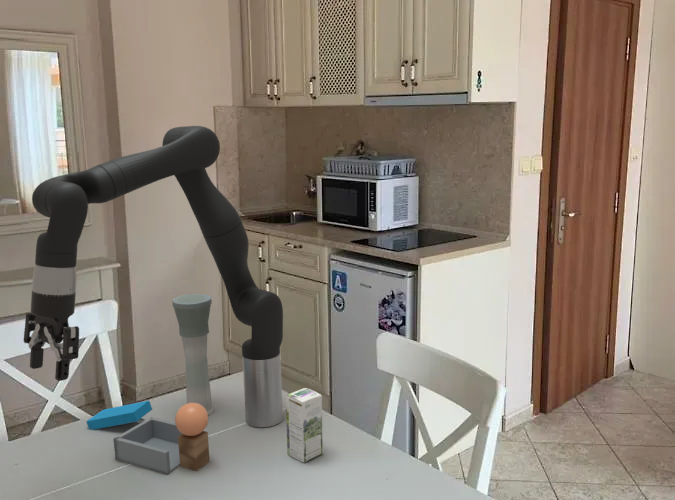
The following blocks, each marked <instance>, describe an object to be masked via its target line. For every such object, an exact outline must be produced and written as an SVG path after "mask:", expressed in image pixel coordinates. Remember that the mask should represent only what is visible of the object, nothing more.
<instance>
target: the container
mask: <svg viewBox="0 0 675 500" xmlns="http://www.w3.org/2000/svg"><path fill="white" fill-rule="evenodd" d="M212 300H213V299H212V296H211V295H208V294H202V293H194V294H193V293H190V294H183V295H179V296H177V297H175V298H173V299H172V301H171V302H172V307H173V309H174V313H175V316H176V319H177V323H178V326H179V327H178V331H179V336H180V337H181V341H182V346H183V351H184V352H183V353H184V358H185V384H186V385H185V386H186V389H185V390H186V393H185V394H186V404H187V403H198V404H200V405H202V406H203V407H204V408H205V409H206V411H207V413H208V417H209V416H211V415H212V414H214V412H215V408H214V406H213V399H212V390H211V384H210V382H211V381H210V375H209V374H210V373H209V365H208V364H209V363H208V335H209V333H210V329H209V319H210V318H209V317H210V311H211V306H212V304H213V303H212V302H213V301H212Z"/></svg>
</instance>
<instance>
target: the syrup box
mask: <svg viewBox="0 0 675 500" xmlns="http://www.w3.org/2000/svg"><path fill="white" fill-rule="evenodd" d="M322 401H323V397H322V395H321V394H320V393H318V391H315V390H313V389H311V388H307V387H303V388H301V389H299V390H296V391H293V392H291V393H288V394H287V395H285V412H286V415H285V416H286V448H287V449H286V451H287V452H286V453H287V455H288V456H289V457H291V458H293V459H295V460H297V461H299V462H302V463H303V464H306V463H307V462H309V461H311V460H314V459H315V458H317V457H319V456H321V455H323V454H324V453H323V446H324V445H323V402H322Z"/></svg>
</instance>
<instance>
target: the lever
mask: <svg viewBox="0 0 675 500" xmlns="http://www.w3.org/2000/svg"><path fill="white" fill-rule="evenodd" d="M152 410H153V407H152V405H151V402H150V400H145V401H140V402H134V403H130V404H125V405H121V406H114V407H110V408H105V409H101V411H99V412H98V413H96V414H94V415H93V416H92V417H90V418H89V419H87V420H86V421H85V422H86V424H87V427H88V429H89V430H91V431H92V430H94V431H95V430H99V429H104V428H110V427H114V426H120V425H121V426H122V425H125V424H126V425H127V424H130V423H137V424H140V423H142V422H144V421H145V420H146V419H145V418H143V417H145V416H146V415H147V414H148V413H150V412H151V411H152ZM157 418H158V417H157ZM158 419H160V418H158Z"/></svg>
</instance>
